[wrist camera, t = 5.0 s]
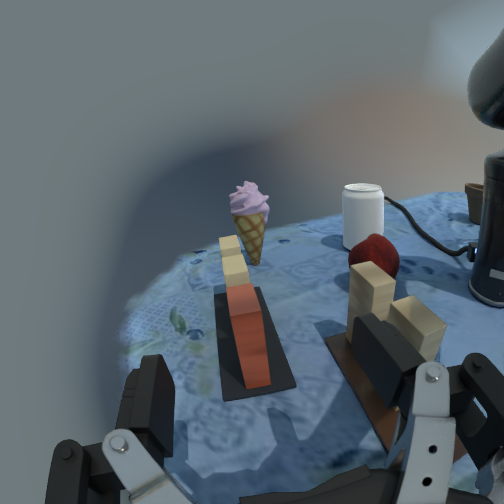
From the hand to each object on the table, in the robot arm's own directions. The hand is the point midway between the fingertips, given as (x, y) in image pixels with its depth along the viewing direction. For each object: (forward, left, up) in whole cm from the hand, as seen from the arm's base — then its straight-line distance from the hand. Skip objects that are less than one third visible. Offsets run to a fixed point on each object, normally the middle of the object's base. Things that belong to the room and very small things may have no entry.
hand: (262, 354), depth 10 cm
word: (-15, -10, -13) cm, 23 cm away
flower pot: (-69, +36, -14) cm, 79 cm away
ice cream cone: (-33, -17, -14) cm, 40 cm away
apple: (-29, +4, -14) cm, 32 cm away
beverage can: (-44, +1, -14) cm, 46 cm away
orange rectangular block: (-9, -6, -13) cm, 17 cm away
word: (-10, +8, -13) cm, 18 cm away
